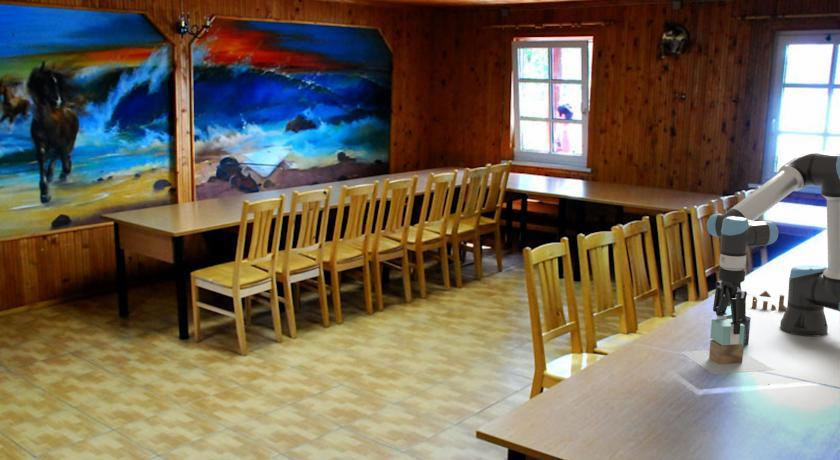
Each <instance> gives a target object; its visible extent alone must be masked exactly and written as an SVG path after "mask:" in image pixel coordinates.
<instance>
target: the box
mask: <svg viewBox="0 0 840 460" xmlns="http://www.w3.org/2000/svg"><path fill="white" fill-rule="evenodd" d="M725 316H726V319H732V314H729V315H725ZM743 325H745V328H744V340H743V344H744V346H746V345H749V340H750V329H751V316H747V315H746V323H743Z"/></svg>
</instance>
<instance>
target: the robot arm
mask: <svg viewBox="0 0 840 460" xmlns="http://www.w3.org/2000/svg"><path fill="white" fill-rule="evenodd" d="M808 186H815V187H821V196H822V197H823V198H824V199H826V222H827V224H826V225H827V226H826V227H827V230H826V231H827V232H826V233H827V266H828V267H827V266H825V265H815V264H814V265H813V264H811V265H807V264H806V265H797V266H794V267H792V268H791V270H790V273H789V277H788V278H789V280H788V292H787V293H788V296H787V305H786V307H787V309H786V311H784V314H783V315H782V318H781V320H780V326H779V327H780V329H781V330H783V331H784V332H787V333H790V334H794V335H796V336H797V335H798V336H804V337H805V336H806V337H820V336H824V335H827V334H828V329H829V326H828V321H827V319H826V315H825V308H826V309H831V310H833V311H837V312H840V151H827V150H813V151H809V152H806V153H802V154H801V155H798V156H796V157H794V158H792V159H791V160H790V161H787V162H786V163H784V164H783V165H782V166H781V167H779V169H778V171H777V174H775V175H774V176H773V177H772V178H770V179H769V180H767V181H766V182H764V183H763V184H762V185H760V186H759V187H758V188H757V189H756V190H753V192H751V193H750V194H749V195H747V196H746V197H745V198H744V199H742V200H741V201H740V202H738V203H736V204H735V205H734V206H732V207H731V208H730V209H728V210H727V211H725V213H723V214H722V213H713V214H712V215H710V216H709V218H708V219H707V222H706V230H707V232H708V234H709V235H711V236H714V237H717V238H719V239H720V252H719V254H720V255H719V263H718V264H719V267H718V279H719V281H716V282H715V292H714V299H713V308H712V311H713V313H715V315H716V319H726V316H728V315H727V308H728V306H730V312H731V314H730V315H732V322H730V323H731V327H730V340H729V344H739V334H740V325H741V324H743V323H746V316H747V315H746V313H747V311H746V310H747V309H746V308H747V307H746V305H747V302H746V300H747V299H746V298H747V295H748V293H747V291H745V290H744V291H743V290H742V286H741V283H742V282H744V281H745V279H746V269H745V268H746V266H747V250H748V248H753V247H760V246H763V247H765V246H768V245H772V244H774V243H775V242H776V241H777V239H778V237H779V228H778V226H777V225H776V223H774V222H773V221H771V220H765V219H763V220H759V221H757V220H758V218H760V217H761V216H763V214H765V213H767V211H769V210H770V209H771V208H773V207H774V206H776V205H777V204H778V203H780V202H781V201H783V199H785V198H786V197H788V196H789V195H790V194H791V193H793V192H798V191H800V190H802V189H803V188H805V187H808ZM728 302H730V305H728Z"/></svg>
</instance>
